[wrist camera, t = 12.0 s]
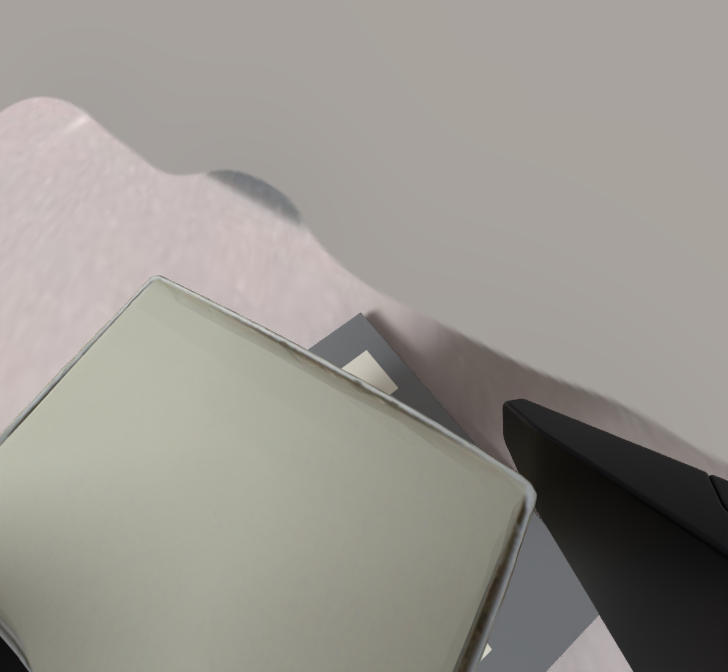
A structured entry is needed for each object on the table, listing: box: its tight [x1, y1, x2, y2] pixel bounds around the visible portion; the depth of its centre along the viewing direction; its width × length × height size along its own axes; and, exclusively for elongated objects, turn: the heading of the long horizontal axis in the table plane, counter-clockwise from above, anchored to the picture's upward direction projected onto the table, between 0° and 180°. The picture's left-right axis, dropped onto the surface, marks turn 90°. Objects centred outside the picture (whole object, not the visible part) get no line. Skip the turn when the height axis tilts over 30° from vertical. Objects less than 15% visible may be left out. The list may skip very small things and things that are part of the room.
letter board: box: [308, 313, 599, 672], centre depth 15 cm, size 15×12×1 cm
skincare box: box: [0, 275, 537, 672], centre depth 10 cm, size 6×4×12 cm
